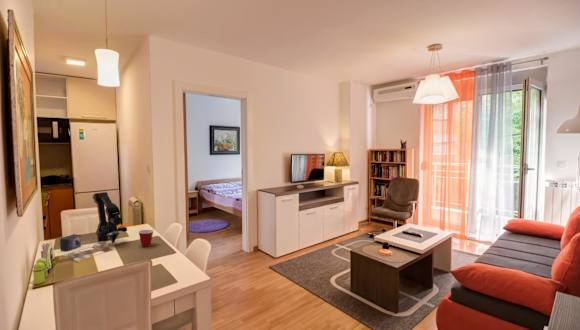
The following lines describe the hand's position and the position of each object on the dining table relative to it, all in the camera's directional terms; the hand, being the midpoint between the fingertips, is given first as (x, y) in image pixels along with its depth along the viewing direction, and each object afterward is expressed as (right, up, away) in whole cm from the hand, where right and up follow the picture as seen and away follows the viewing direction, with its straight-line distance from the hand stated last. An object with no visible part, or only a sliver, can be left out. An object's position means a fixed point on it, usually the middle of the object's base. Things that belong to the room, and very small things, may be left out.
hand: (113, 242), depth 210 cm
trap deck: (-8, -4, -14) cm, 16 cm away
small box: (-26, -4, -7) cm, 27 cm away
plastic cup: (+24, -4, +3) cm, 24 cm away
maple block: (-4, -2, -7) cm, 9 cm away
